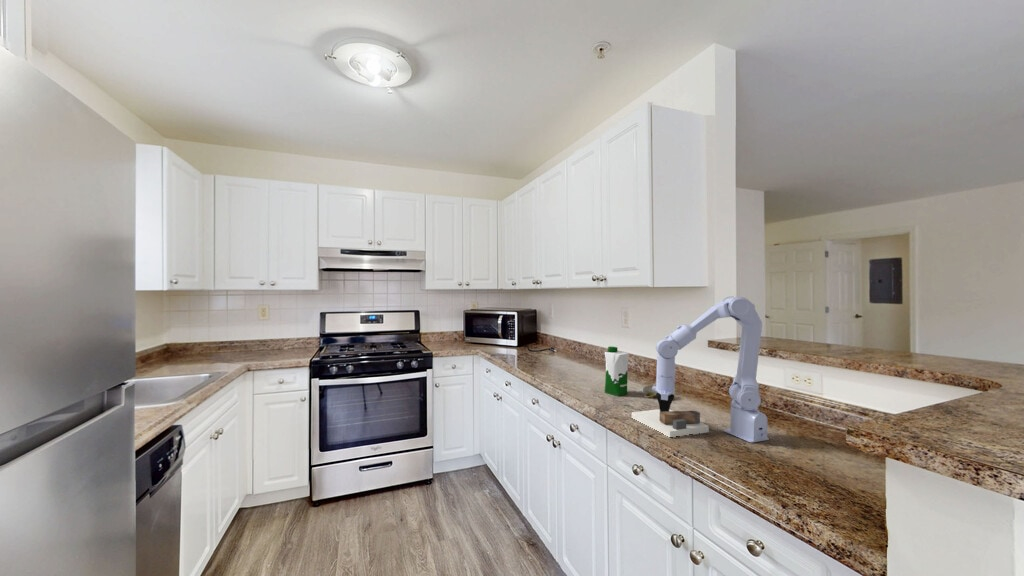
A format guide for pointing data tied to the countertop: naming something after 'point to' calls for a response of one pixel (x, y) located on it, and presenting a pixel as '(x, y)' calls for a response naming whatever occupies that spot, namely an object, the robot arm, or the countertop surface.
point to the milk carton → (616, 372)
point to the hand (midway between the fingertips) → (664, 415)
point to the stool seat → (669, 430)
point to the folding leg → (679, 416)
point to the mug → (649, 391)
